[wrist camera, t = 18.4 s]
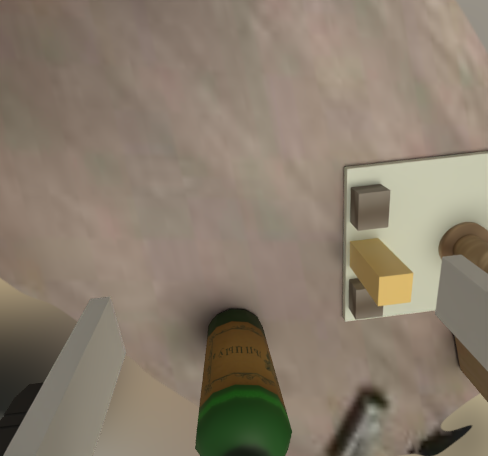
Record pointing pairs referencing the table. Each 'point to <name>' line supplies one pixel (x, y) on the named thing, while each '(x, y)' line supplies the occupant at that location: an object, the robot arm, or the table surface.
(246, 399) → the bottle
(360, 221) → the notch board
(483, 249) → the bobbin
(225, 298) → the table surface
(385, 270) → the yellow rectangular block
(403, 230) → the board
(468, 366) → the wooden block
